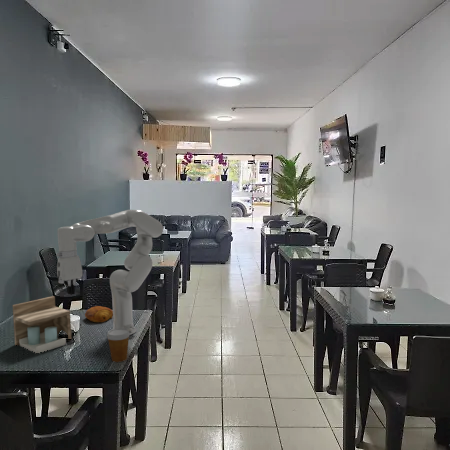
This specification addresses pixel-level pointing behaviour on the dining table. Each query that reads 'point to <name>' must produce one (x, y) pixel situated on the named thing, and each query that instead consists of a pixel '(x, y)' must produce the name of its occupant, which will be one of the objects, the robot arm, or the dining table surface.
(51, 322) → the wooden stand
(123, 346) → the disposable coffee cup
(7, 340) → the dining table surface
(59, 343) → the tray
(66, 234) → the robot arm
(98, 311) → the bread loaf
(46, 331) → the pale blue cylinder
